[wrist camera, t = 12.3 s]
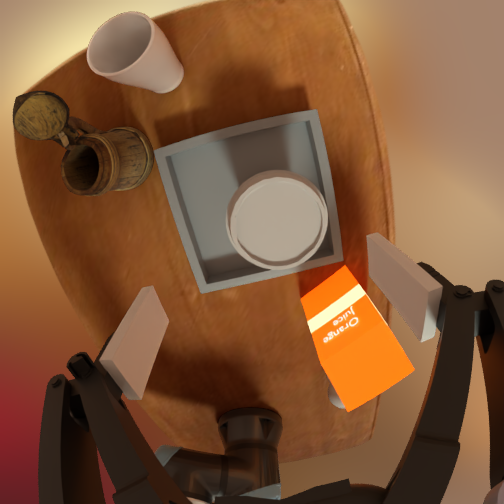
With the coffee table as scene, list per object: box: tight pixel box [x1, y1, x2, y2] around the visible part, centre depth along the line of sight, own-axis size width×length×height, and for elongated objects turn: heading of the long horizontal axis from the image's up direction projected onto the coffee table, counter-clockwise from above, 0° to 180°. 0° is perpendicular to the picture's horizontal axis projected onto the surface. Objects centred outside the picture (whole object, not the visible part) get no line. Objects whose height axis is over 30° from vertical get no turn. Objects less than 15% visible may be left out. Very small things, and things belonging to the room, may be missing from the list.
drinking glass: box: [87, 12, 184, 93], centre depth 22 cm, size 7×7×15 cm
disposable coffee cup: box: [226, 170, 328, 270], centre depth 29 cm, size 10×10×12 cm
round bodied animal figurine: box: [326, 374, 345, 409], centre depth 47 cm, size 7×12×8 cm, turn 15°
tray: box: [154, 109, 344, 294], centre depth 34 cm, size 20×20×4 cm
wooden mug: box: [13, 91, 154, 196], centre depth 24 cm, size 9×14×18 cm, turn 22°
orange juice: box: [301, 266, 414, 412], centre depth 33 cm, size 8×9×20 cm
